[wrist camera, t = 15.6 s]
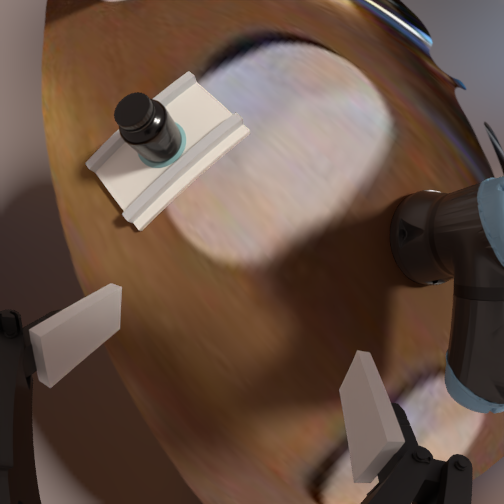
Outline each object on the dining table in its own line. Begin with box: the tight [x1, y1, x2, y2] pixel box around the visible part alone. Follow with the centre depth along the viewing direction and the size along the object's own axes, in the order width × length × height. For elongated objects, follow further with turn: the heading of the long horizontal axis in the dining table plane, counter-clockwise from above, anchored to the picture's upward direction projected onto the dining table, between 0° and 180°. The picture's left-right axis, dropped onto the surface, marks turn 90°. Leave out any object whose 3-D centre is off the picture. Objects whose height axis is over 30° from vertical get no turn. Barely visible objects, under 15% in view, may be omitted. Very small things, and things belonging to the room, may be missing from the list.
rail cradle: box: [85, 71, 250, 231], centre depth 40 cm, size 22×16×3 cm
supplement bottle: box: [114, 92, 182, 163], centre depth 35 cm, size 7×7×12 cm
